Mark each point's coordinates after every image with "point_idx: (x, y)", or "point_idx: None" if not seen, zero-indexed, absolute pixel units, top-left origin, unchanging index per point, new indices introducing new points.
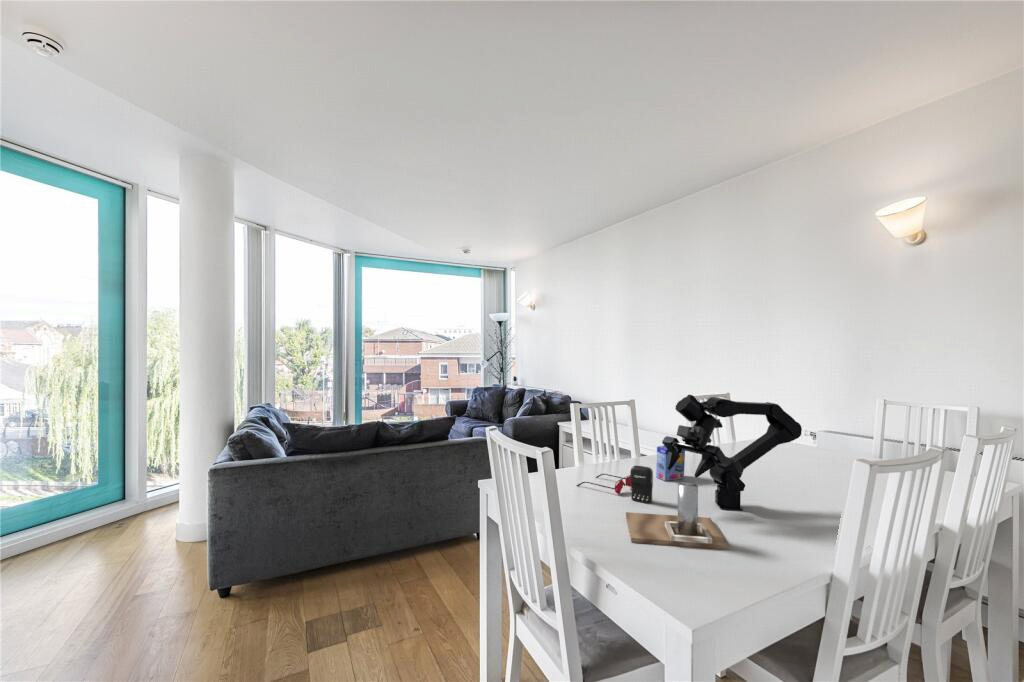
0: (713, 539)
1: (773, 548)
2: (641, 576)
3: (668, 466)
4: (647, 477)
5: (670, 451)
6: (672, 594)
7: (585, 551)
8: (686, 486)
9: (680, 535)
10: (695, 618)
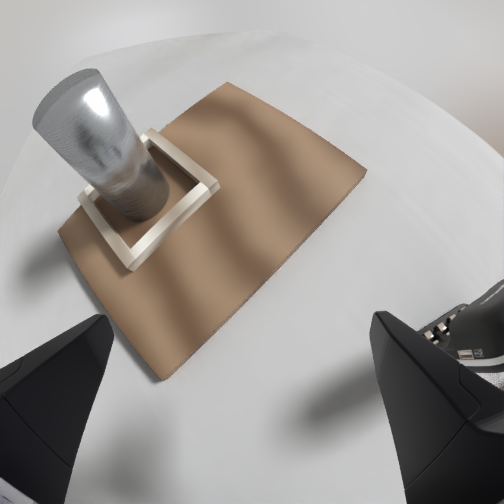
0: (86, 226)
1: (17, 327)
2: (148, 55)
3: (384, 318)
4: (474, 311)
5: (502, 417)
6: (102, 67)
7: (255, 33)
8: (66, 84)
9: None
10: (75, 68)
